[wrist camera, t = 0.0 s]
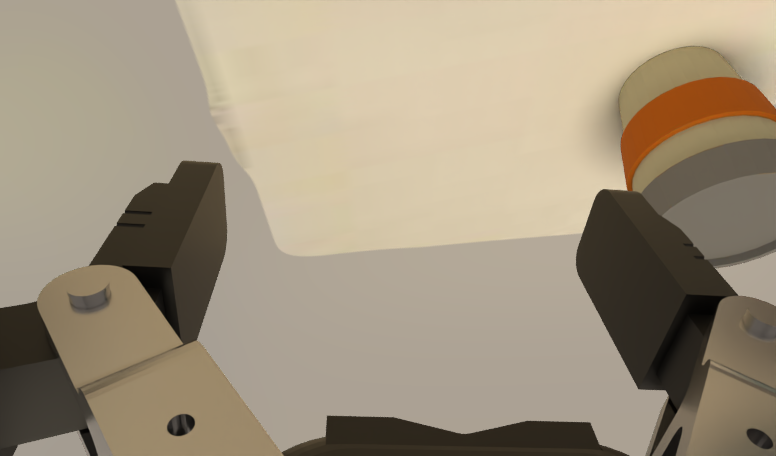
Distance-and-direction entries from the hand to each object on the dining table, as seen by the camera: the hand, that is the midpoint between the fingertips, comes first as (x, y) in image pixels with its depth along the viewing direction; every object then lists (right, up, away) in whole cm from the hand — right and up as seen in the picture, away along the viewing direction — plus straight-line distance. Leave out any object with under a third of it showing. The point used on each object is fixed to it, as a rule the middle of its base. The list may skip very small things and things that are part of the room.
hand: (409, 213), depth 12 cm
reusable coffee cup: (+25, +12, +38) cm, 47 cm away
